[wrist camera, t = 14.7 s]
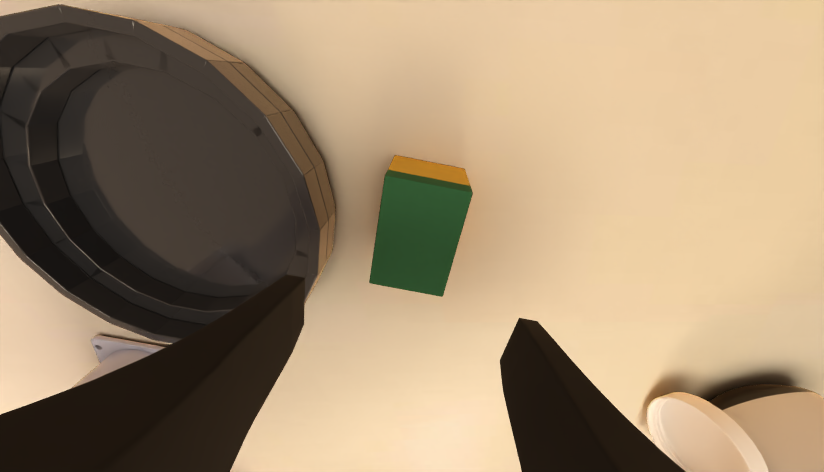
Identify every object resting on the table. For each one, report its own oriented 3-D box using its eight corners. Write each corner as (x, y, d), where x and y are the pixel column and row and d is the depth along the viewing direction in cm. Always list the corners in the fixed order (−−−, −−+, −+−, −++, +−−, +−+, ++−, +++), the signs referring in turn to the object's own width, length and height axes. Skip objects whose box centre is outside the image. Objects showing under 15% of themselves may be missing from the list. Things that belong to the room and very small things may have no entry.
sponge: (441, 258, 20) (442, 297, 17) (380, 246, 20) (369, 283, 16) (465, 168, 17) (473, 192, 14) (394, 154, 17) (384, 175, 14)
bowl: (328, 330, 24) (313, 369, 21) (89, 286, 23) (35, 319, 20) (349, 63, 15) (328, 60, 12) (-26, -15, 15) (-148, -39, 12)
